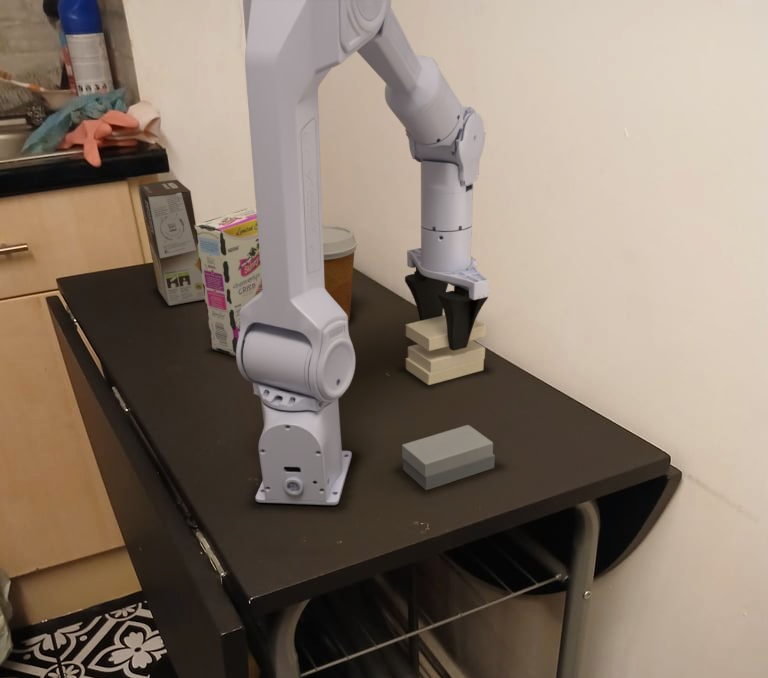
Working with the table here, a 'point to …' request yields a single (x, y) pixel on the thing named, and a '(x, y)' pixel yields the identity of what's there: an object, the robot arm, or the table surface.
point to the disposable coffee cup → (339, 264)
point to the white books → (444, 362)
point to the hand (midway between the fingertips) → (444, 339)
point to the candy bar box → (229, 272)
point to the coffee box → (172, 240)
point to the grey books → (447, 457)
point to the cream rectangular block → (437, 332)
